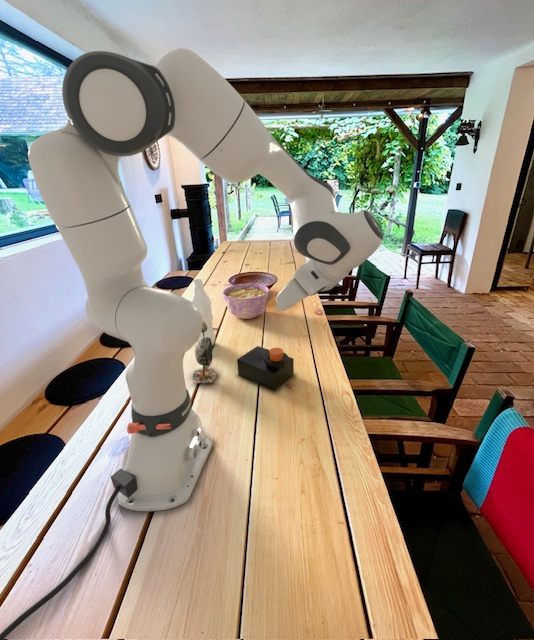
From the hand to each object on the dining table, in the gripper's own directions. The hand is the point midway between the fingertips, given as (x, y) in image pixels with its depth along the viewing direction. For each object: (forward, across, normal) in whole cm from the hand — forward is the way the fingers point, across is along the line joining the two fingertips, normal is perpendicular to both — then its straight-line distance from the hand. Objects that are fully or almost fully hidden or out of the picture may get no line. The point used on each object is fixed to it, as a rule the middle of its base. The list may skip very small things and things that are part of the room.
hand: (288, 302), depth 84 cm
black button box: (+24, 0, +12) cm, 27 cm away
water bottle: (+46, -4, -9) cm, 47 cm away
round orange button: (+16, +1, +10) cm, 19 cm away
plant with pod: (+36, +11, +1) cm, 37 cm away
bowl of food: (+49, -33, -11) cm, 60 cm away
